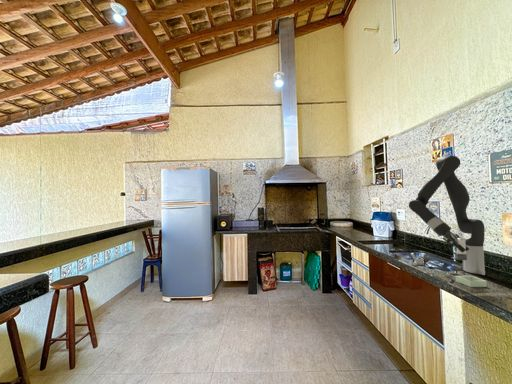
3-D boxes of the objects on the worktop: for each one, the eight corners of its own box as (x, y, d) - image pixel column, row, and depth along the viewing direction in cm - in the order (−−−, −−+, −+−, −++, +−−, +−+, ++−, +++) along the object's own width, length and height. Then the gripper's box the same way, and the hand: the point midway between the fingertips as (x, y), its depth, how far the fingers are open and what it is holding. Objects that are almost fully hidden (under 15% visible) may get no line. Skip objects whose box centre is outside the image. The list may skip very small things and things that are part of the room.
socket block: (445, 278, 135) (444, 272, 135) (457, 278, 135) (457, 272, 135) (456, 283, 127) (455, 277, 127) (469, 282, 127) (469, 276, 127)
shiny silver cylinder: (454, 258, 130) (453, 238, 130) (462, 257, 129) (461, 238, 130) (461, 260, 125) (460, 239, 126) (469, 259, 125) (468, 239, 125)
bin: (455, 283, 127) (455, 275, 127) (471, 283, 127) (471, 275, 127) (470, 289, 118) (469, 281, 118) (487, 289, 118) (486, 281, 118)
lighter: (422, 264, 165) (421, 252, 165) (423, 264, 163) (422, 253, 163) (411, 263, 166) (410, 252, 167) (412, 264, 165) (411, 253, 165)
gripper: (437, 222, 131) (466, 248, 120) (449, 221, 138) (477, 245, 127) (427, 231, 136) (454, 256, 124) (439, 229, 142) (465, 253, 131)
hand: (465, 250), depth 126 cm, fingers closed on shiny silver cylinder, 3 cm apart
